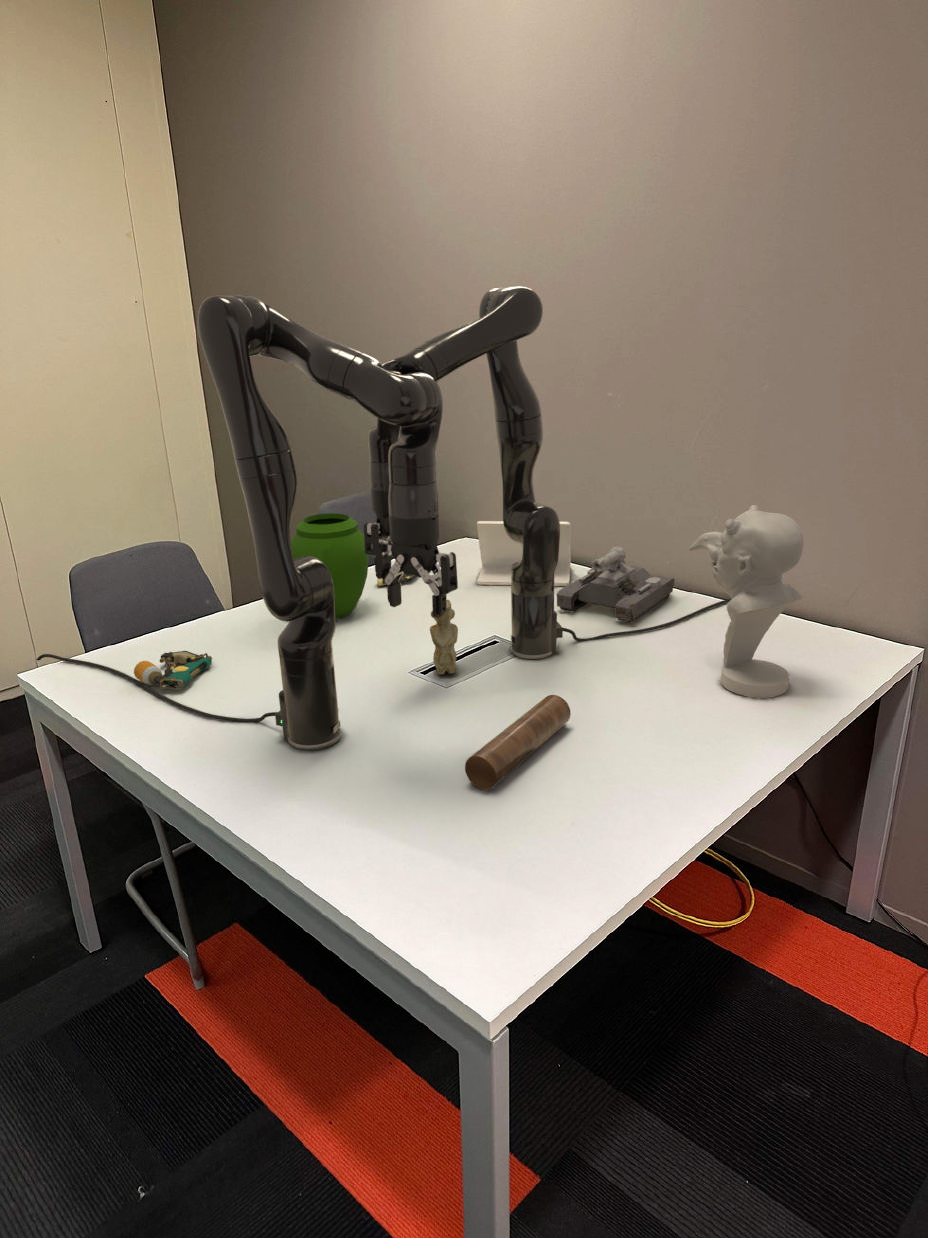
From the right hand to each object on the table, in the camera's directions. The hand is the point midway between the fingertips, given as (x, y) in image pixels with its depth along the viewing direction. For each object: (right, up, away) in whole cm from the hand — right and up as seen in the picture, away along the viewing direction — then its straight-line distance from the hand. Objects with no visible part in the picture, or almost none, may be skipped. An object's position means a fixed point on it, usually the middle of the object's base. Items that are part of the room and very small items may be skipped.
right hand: (397, 569), depth 160 cm
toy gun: (-5, +2, +80) cm, 80 cm away
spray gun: (-48, -22, +20) cm, 56 cm away
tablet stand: (+30, +3, +79) cm, 84 cm away
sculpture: (+9, -20, +19) cm, 29 cm away
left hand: (+5, -8, -25) cm, 27 cm away
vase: (-20, -8, +53) cm, 57 cm away
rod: (+22, -33, -14) cm, 42 cm away
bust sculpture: (+67, -22, +11) cm, 71 cm away
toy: (+51, -6, +54) cm, 74 cm away
